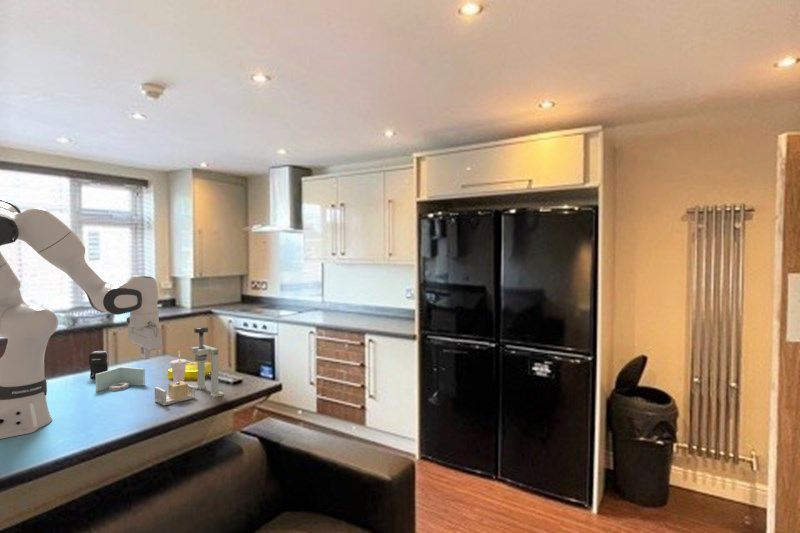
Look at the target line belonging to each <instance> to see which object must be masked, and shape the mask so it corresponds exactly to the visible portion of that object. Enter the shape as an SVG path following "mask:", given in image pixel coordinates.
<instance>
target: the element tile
mask: <svg viewBox="0 0 800 533" xmlns="http://www.w3.org/2000/svg"><path fill="white" fill-rule="evenodd" d="M209 373H210V374H211V361H210V362H209V361H208V362H205V376H206V375H207V374H209ZM210 374H209V375H210ZM207 376H208V375H207ZM207 376H206V377H207ZM167 379H168V380H170V381H172V380H173V375H172V368H169V369H168V370H167ZM185 380H186V381H187V380H188V381H198V368H197V361H187V363H186V368H185V377H184V381H185Z"/></svg>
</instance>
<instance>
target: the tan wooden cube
mask: <svg viewBox="0 0 800 533" xmlns="http://www.w3.org/2000/svg"><path fill="white" fill-rule="evenodd" d="M188 384H189V383H187V382H185V381H184V382H183V381H179V382H175V383H174V382H171V383H168V384H167V386H168V389H167V390H168V395H169V396H170V397H172V398H174V399H175V398H179V397H183V396H187V395H188Z"/></svg>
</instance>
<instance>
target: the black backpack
mask: <svg viewBox="0 0 800 533" xmlns="http://www.w3.org/2000/svg"><path fill="white" fill-rule="evenodd" d="M109 363H110V362H109V352H108V351H106V350H105V351H104V350H97V351H92V352H91V353H89V354H88V366H90V367H89V368H90V374H89V377H90V379H96V376H95V374H98V373H101V372H105V371H108V370H109Z"/></svg>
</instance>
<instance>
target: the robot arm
mask: <svg viewBox="0 0 800 533" xmlns="http://www.w3.org/2000/svg"><path fill="white" fill-rule="evenodd" d="M17 240H19V241H22V242H24V243H26V244H27V245H28V246H29V247H30V248H32V249H33V250H34V251H35V252H36V253H37V254H38V255H39V256H40V257H41V258H43V259H44V260H45V261H47V263H50V264H51V265H52V266H54V267H56V268H57V269H59V270H60V271H62V272H64V273H65V274H66V275H67V276H68V277H69V278H71V279H72V281H73V282H74V283H76V284H77V286H78V287H80V289H82V290H83V291H84V293H85V294H86V296H87V298H88V299H87V300H88V302H89V304H90V306H91V307H92V308H93V309H94V310H95V311H97V312H99V313H104V314H105V313H106V314H111V315H118V316H119V315H123V314H127V313H129V316H128V317H126V320H125V321H126V322H125V323H126V324H127V327H128V328H127V330H128V332H127V334H128V339H129V342H130V344H131V343H132V344H134V345H137V346H139V350H140V354H141V359H144V360H149V359H151V352H152V351H158V350H161V349H162V347H163V343H162V342H163V341H162V332H161V328H160V327H158V325H160V322H159V320H160V319H159V317H160V315H159V307H158V302H159V289H158V284H157V281H156V279H155V278H154V277H153V276H148V275H147V276H146V275H141V274H139V275H138V274H133V275H132V276H130V277H129V278H128V279H126V280H125V281H123V282H120V283H119V284H115V285H114V284H111V283H108V282H106V281H104V280H103V279H102V278H101V277H100V276H99V275H98V274H97V273H96V272H95V271H94V270H93V269H92V268H91V267H90V265H88V263H87V261H86V258H85V254H86V247H85V245H84V244H83V242H82V240H80V238H79V237H78V236H77V234H76V233H74V232H73V230H72V229H71V228H70V227H68V226H67V225H66V224H65V223H64V222H63V221H62V220H60V219H59V218H58V217H56V216H55V215H54V214H52V213H51V212H50V211H48V210H47V209H45V208H42V207H33V208H28V209H26V210H23V211H22V212H21V209H20V208H19V207H18V206H17V205H16V204H14V203H13V202H11V201H8V200H5V199H0V247H1V246H5V245H8V244H14V243H16V242H17ZM15 273H16V272H14V270H13V269H12V268H11V266H10V264H9V262H8V261H7V260H6V258H5V256H4V255H3V254H2V252H1V251H0V338H4V339H7V343H6V346H5V347H6V348H5V351H4V353H3V355H2V356H1V357H0V440H1V439H6V438H12V437H15V436H16V437H17V436H22V435H27V434H31V433H34V432H36V431H38V429H40V428H43V427H45V426H46V425H49V424H50V423H51V422H52V421H53V418H52V416H51V413H50V411H49V407H48V403H47V402H48V401H47V397H46V396H47V394H48V381H47V378H45V355H46V349H47V346H48V343H49V340H50V338H51V336H52V335H53V334H55V332H56V331H57V330H58V326H59V320H58V317H57V314H55V313H54V312H53V311H51V310H50V309H47V308H45V307H43V306H39V305H30V304H29V305H28V304H27V303H26V302H25V301H24V299H23V297H22V294H21V288H20V287H21V281H20V280H19V278H18V276H17V275H16V274H15Z"/></svg>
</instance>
